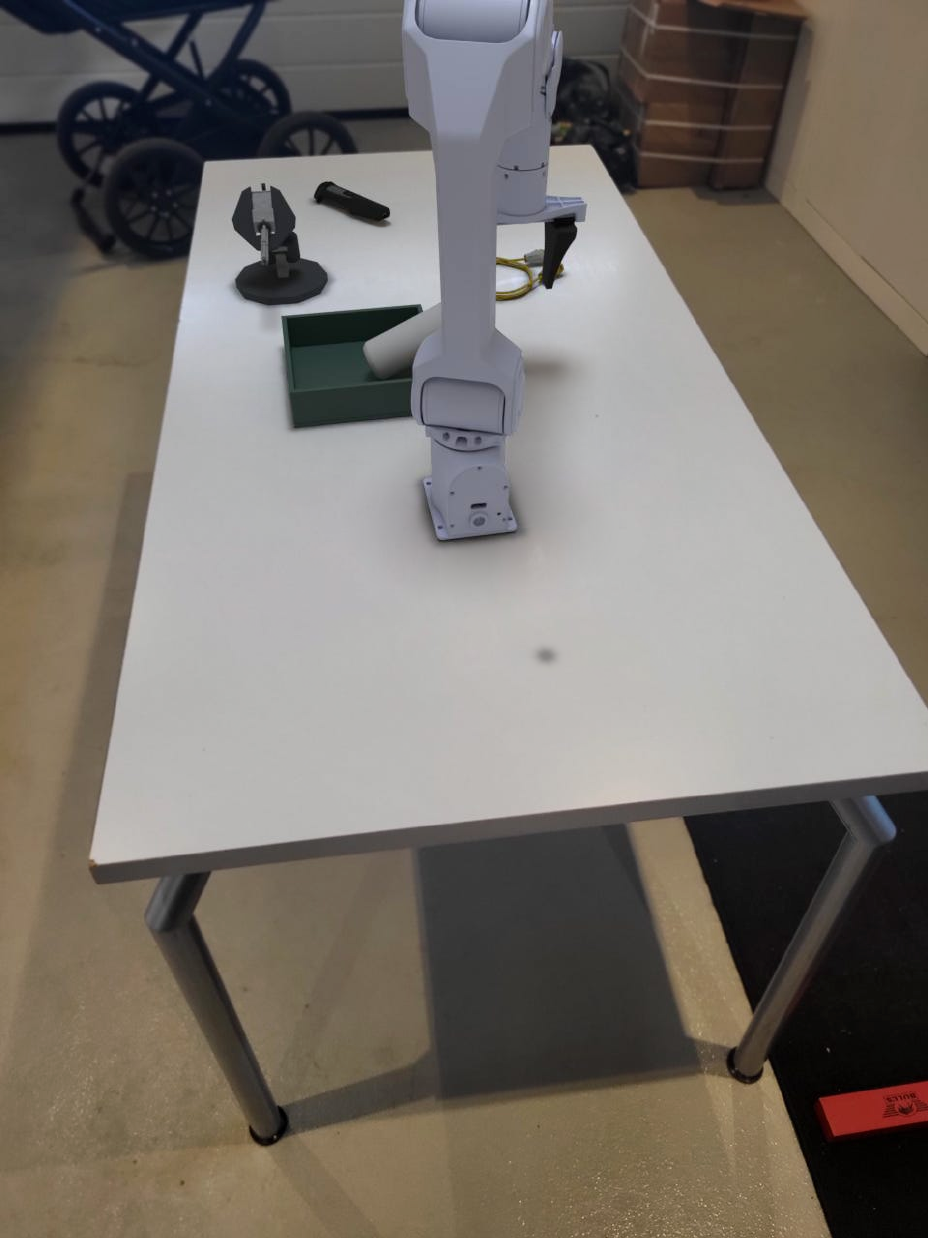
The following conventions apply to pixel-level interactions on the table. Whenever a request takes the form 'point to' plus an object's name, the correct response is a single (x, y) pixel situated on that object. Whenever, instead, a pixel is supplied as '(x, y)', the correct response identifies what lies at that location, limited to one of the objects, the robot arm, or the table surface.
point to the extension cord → (531, 257)
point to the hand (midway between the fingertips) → (514, 287)
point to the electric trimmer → (351, 201)
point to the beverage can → (401, 343)
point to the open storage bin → (342, 366)
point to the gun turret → (274, 251)
